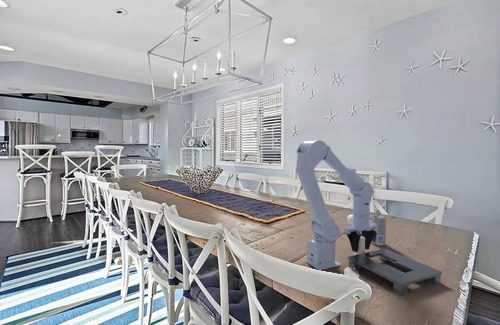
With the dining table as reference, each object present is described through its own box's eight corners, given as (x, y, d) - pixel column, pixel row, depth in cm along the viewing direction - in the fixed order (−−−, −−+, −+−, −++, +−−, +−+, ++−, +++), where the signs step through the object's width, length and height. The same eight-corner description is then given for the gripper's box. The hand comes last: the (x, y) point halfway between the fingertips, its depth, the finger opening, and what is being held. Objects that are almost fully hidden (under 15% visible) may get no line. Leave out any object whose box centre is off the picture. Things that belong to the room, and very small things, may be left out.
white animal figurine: (360, 233, 135) (339, 226, 129) (365, 217, 135) (345, 209, 130) (374, 238, 127) (352, 231, 121) (379, 222, 127) (358, 213, 122)
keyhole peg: (360, 262, 93) (361, 240, 93) (350, 257, 98) (350, 236, 97) (370, 260, 95) (371, 238, 95) (359, 254, 100) (360, 234, 99)
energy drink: (373, 240, 115) (373, 214, 114) (386, 243, 112) (387, 216, 111) (369, 244, 111) (370, 216, 110) (383, 247, 107) (384, 218, 107)
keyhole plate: (401, 296, 72) (402, 284, 71) (347, 266, 90) (348, 256, 90) (441, 282, 79) (442, 271, 79) (384, 257, 97) (384, 248, 97)
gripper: (354, 218, 89) (354, 257, 90) (384, 214, 95) (383, 250, 95) (340, 214, 95) (339, 250, 96) (368, 210, 101) (367, 244, 102)
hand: (360, 250), depth 96 cm, fingers open, 5 cm apart
